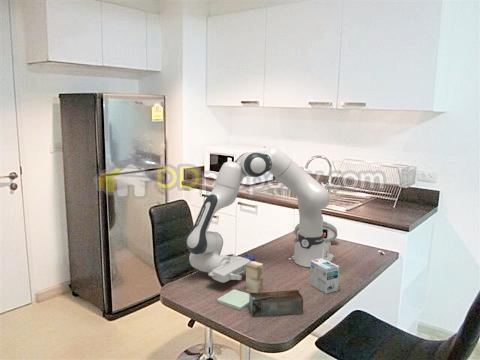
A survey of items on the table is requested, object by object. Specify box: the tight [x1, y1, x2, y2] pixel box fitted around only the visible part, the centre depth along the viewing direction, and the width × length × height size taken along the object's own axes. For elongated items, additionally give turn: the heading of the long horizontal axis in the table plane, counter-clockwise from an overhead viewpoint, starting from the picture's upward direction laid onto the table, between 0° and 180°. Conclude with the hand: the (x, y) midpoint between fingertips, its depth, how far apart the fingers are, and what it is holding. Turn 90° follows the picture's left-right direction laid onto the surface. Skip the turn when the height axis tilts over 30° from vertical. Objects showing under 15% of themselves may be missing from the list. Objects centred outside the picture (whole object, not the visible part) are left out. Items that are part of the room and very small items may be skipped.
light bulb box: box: [309, 258, 340, 294], centre depth 167 cm, size 11×7×11 cm, turn 30°
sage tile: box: [216, 289, 249, 311], centre depth 155 cm, size 11×11×1 cm
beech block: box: [245, 261, 264, 293], centre depth 164 cm, size 5×5×11 cm
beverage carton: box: [248, 289, 304, 318], centre depth 148 cm, size 8×19×7 cm, turn 98°
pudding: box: [241, 254, 257, 262], centre depth 189 cm, size 12×12×5 cm
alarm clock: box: [293, 220, 338, 246], centre depth 222 cm, size 23×6×13 cm, turn 79°
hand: (247, 274), depth 166 cm, fingers open, 8 cm apart
